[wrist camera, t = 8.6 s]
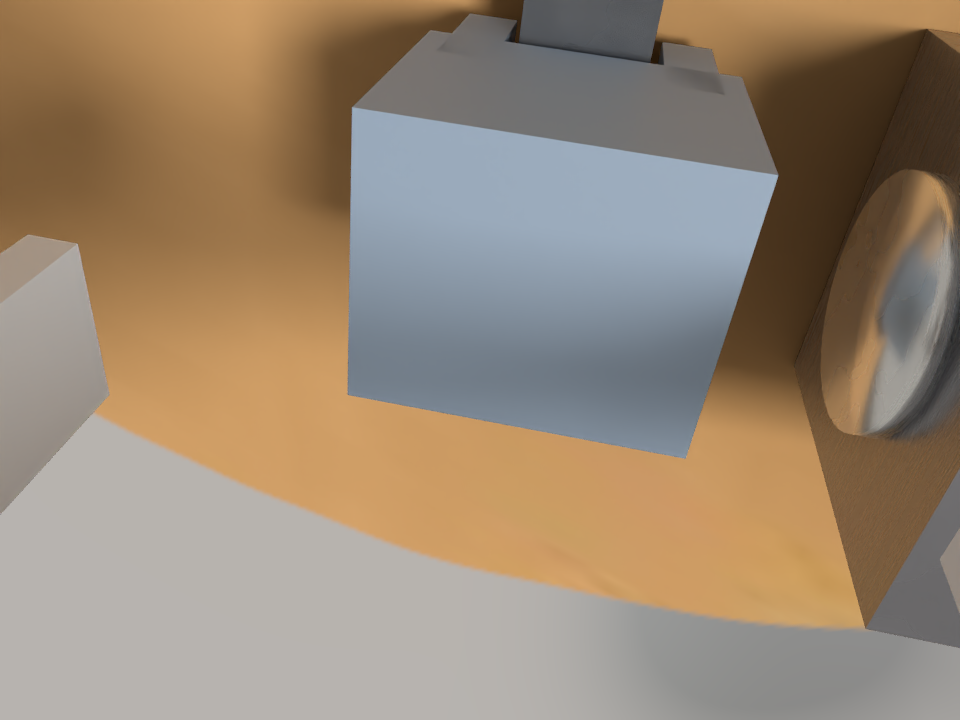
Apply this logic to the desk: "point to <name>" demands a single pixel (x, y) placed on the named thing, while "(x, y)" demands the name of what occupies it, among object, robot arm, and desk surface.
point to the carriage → (551, 234)
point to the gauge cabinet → (897, 362)
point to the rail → (593, 26)
